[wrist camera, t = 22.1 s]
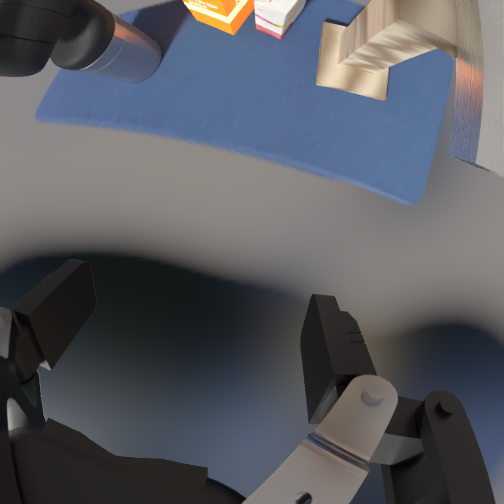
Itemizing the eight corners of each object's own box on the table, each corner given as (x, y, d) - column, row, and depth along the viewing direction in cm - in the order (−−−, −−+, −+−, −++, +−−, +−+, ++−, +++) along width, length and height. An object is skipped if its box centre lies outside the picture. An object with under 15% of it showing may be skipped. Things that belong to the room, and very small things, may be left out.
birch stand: (315, 84, 40) (399, 18, 11) (322, 24, 35) (390, -83, 6) (382, 101, 40) (520, 89, 11) (387, 42, 35) (505, -17, 6)
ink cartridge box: (281, 41, 37) (288, 7, 23) (255, 29, 36) (251, -8, 23) (305, 7, 34) (319, -32, 20) (279, -5, 33) (284, -46, 19)
